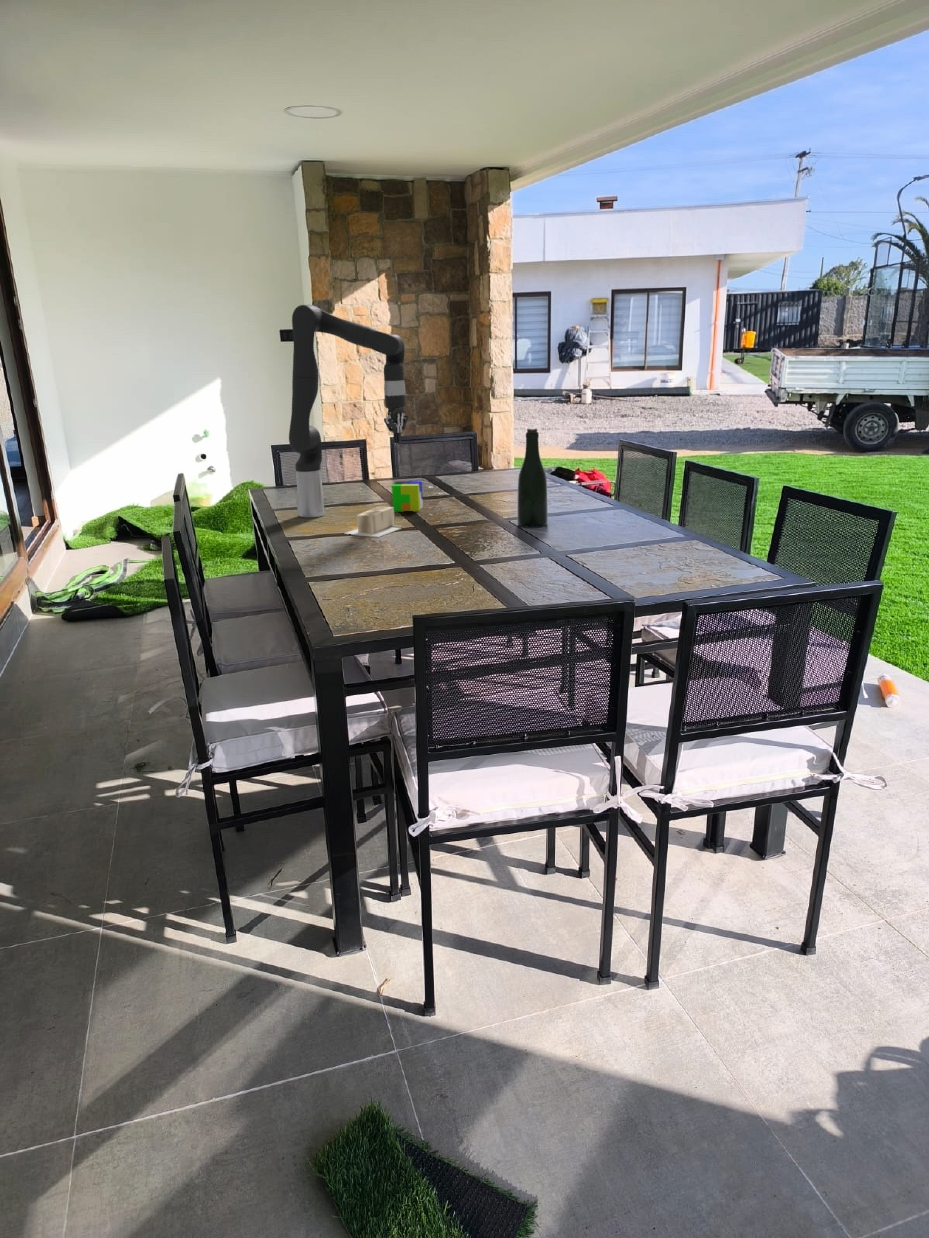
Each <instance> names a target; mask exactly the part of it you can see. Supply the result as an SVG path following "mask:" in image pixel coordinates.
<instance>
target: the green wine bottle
mask: <svg viewBox="0 0 929 1238" xmlns="http://www.w3.org/2000/svg"><path fill="white" fill-rule="evenodd" d="M539 436H540V435H539V432H538V429H537V427H536V428H534V427H532V428H531V427H529V428H527V429H526V433H525V452H524V458H523V462H522V465H521V467H520V470H519V473H518V477H517V478H518V480H517V502H516V504H517V508H516V509H517V516H516V517H517V524H518V525H519V527H523V528H541V527H546V525H547V524H548V482H547V474H546V471H545V468H544V465H543V462H542V460H541V455H540V451H539V450H540V447H539V446H540V444H539Z"/></svg>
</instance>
